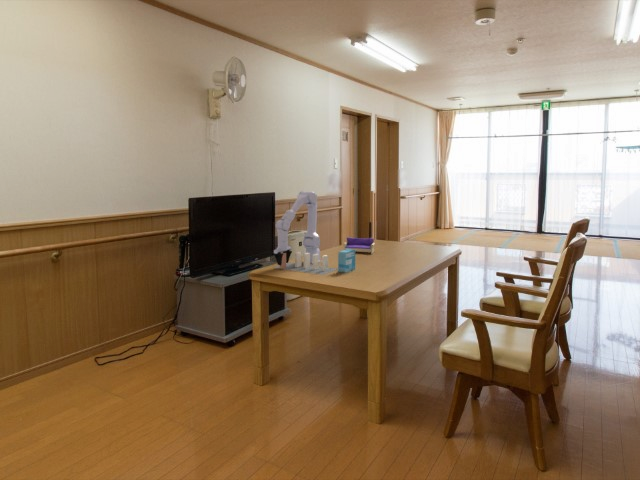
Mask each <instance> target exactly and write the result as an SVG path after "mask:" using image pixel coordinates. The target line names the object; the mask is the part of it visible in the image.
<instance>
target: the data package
mask: <svg viewBox="0 0 640 480" xmlns="http://www.w3.org/2000/svg"><path fill="white" fill-rule="evenodd" d="M337 255H338V256H337V257H338V259H337V272H338V273H343V274H346V273H350V272H352V271H354V270H356V251H355V250H352V249H346V250H344V249H343V250H340V251H338V253H337Z"/></svg>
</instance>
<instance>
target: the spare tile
mask: <svg viewBox="0 0 640 480" xmlns="http://www.w3.org/2000/svg"><path fill="white" fill-rule="evenodd" d="M280 253H281V254H283V256H282V264H281V265H279V266H280V268H285V267H286V264H287V263H286V253H283V252H280Z"/></svg>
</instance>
